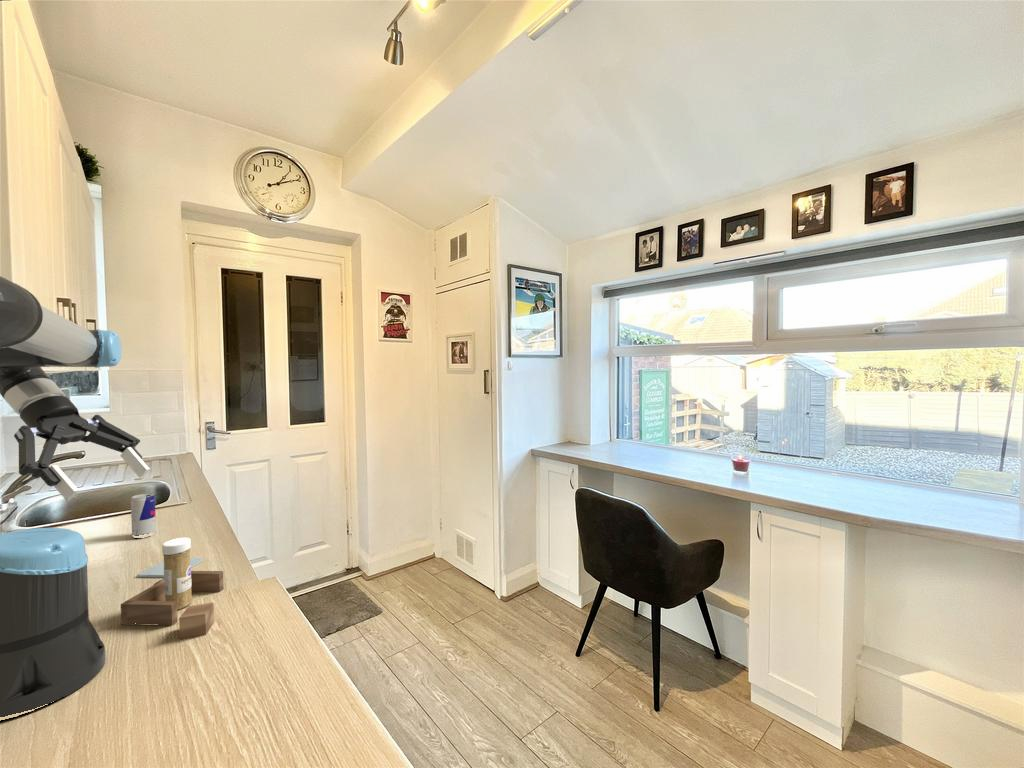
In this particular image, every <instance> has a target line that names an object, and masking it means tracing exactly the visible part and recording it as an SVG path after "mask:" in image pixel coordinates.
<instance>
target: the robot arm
mask: <svg viewBox="0 0 1024 768" xmlns="http://www.w3.org/2000/svg"><path fill="white" fill-rule="evenodd" d="M121 358H122V343H121V339H120V337H119V335H118V333H117V332H115V331H112V330H102V329H98V328H97V329H86V328H85V327H83V326H81V325H79V324H77V323H75V322H73V321H71V320H70V319H68V318H66V317H64V316H62V315H60V314H58V313H56V312H54V311H52V310H51V309H49V308H47V307H45V306H43V305H42V304H41V302H40V301H39V299H38V298H37V297H36V296H35V295H34V294H33V293H32V292H30V291H29V290H28V289H26V288H24V287H23V286H21V285H19V284H17V283H15V282H13V281H11V280H10V279H7V278H5V277H3V276H0V396H1V397H2V398H3V399H4V400H5V402H6V403H7V404H8V405H9V407H11V408H12V410H13V411H14V412H15V413H16V414H17V415H18V416H19V418H20V419H21V420H22V421H23V422H24V424H25V425H22V426H20V427H19V428H18V430H17V431H16V432H15V433H14V434H13V436H14V438H15V440H16V441H17V443H18V474H19V475H20V476H27V475H29V474H31V476H32V477H33V478H37V479H38V478H41V480H42V481H44V483H45V484H46V485H47V486H48V487H54V488H55V490H57V492H58V493H59V494H60V495H61V496H62V498H63V499H65V501H69V500H71V499H73V498H74V497H75V495H76V494H77V493H78V492H79V491H80V489H79V488H78V487H77V486H76V485H75V483H74V482H73V481H71V479H70V478H69V477H68V476H67V474H65V472H64V471H63V470H62V469H61V468H60V466H58V464H54V465H51V462H52V460H53V458H54V455H55V452H56V450H57V447H58V444H60V445H61V446H62V445H63V446H64V445H67V444H69V443H77V442H84V443H93V444H96V445H97V446H101V447H105V448H107V449H110V450H113V451H116V452H119V453H121V454H120V455H119V456H120V458H122V460H124V462H125V463H126V464H127V465H128V466H129V468H130V469H131V470H132V471H133V472H134V473H135V474H136V475H137V476H138V478H140V479H141V478H143V477H144V476H145V475H146V474H147V473H148V472H149V471H150V470H151V469H150V467H149V466H148V465H147V464H146V463H145V461H144V460H143V455H142V454H140V452H139V451H138V450H137V449H136V447H137V446H138V444H140V443H141V439H139V438H138V437H135V436H134V435H132V434H130V433H128V432H126V431H125V430H123V429H122V428H119V427H117V426H116V425H114V424H113V423H110V422H108V421H107V420H106V419H105V418H103V417H102V416H101V415H99V414H94V416H92V417H90V418H84V417H82V416H81V415H80V413H79V409H78V408H77V406H75V403H73V402H72V400H70V399H69V397H67V395H66V394H65V393H64V392H63V390H61V388H60V387H59V386H58V385H57V384H56V382H54V381H53V380H52V378H50V376H48V374H47V373H46V372H45V371H44V369H43V368H52V367H53V368H54V367H57V368H58V367H59V368H60V367H61V368H64V367H65V368H104V367H106V368H107V367H116V366H117V365H118V364H119V363H120V362H121ZM87 432H89V434H87ZM36 437H38V438H41V439H44V440H45V442H44V444H43V446H42V450H41V453H40V455H39V457H38V460H37V462H36V440H35V439H36ZM86 549H87V548H86V541H85V539H84V536H83V535H82V534H81V533H80V532H79V531H75V530H72V529H69V528H62V527H61V528H60V527H40V528H39V527H36V528H34V527H33V528H24V529H17V530H16V529H15V530H12V531H11V532H0V717H5V716H8V715H12V714H16V713H21V712H24V711H28V710H32V709H35V708H37V707H40V706H43V705H45V704H49V703H51V702H53V701H56V700H58V699H60V698H62V697H64V698H65V696H66V697H67V696H69V695H70V694H72V693H74V692H76V691H77V690H79V689H80V688H82V687H84V686H85V685H86V684H88V683H89V682H90V681H92V680H93V679H94V678H95V677H96V676H97V675H98V674H99V673H100V672H101V671H102V670H103V668H104V666H105V665H106V662H105V661H106V659H107V655H106V647H105V643H104V642H103V641H102V640H101V638H100V635H99V634H98V631H96V628H95V627H94V625H93V623H92V621H91V619H90V616H89V615H90V614H89V586H88V585H89V584H88V582H89V580H88V563H89V556H88V555H87V552H86V551H87V550H86ZM104 664H105V665H104ZM101 669H102V670H101ZM62 699H63V698H62ZM60 700H61V699H60ZM58 701H59V700H58ZM56 702H57V701H56Z"/></svg>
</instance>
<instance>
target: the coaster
mask: <svg viewBox="0 0 1024 768" xmlns="http://www.w3.org/2000/svg"><path fill="white" fill-rule="evenodd" d="M203 560H204V561H205V557H190V565H191V569H192V568H193V567H195V566H196V565H198V564H200V563H202V562H204V561H203ZM136 578H162V579H164V560H163V561H161V562H159V563H157V564H155V565H153V566H151V567H149V568H148V569H145V570H143V571H141V572H139V573H138V574H136Z"/></svg>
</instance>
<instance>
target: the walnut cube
mask: <svg viewBox="0 0 1024 768" xmlns="http://www.w3.org/2000/svg"><path fill="white" fill-rule="evenodd" d="M214 604H215V603H214V602H206V603H200V604H193V605H188V606H187V608H186V609H185V610H184V611H183V613H182V614H181V615H180V616H179V617H178V624H179V625H178V626H179V639H180V640H184V639H190V638H195V637H201V636H202V637H203V636H207V634H208V632H209V631H210V629H212V627H213V625H214V624H215V607H214Z"/></svg>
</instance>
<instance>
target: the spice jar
mask: <svg viewBox="0 0 1024 768" xmlns="http://www.w3.org/2000/svg"><path fill="white" fill-rule="evenodd" d="M191 543H192V542H191V538H189V537H177V538H173V539H170V540H167V541H165V542H164V543H162V546H161V547H162V548H161V550H162V552H161V553H162V556H163V561H164V578H163V579H164V592H165V601H177V611H179V610H182V609H185V608H186V607H187V608H188V606H190V605H191V604H192V603H193V598H192V592H191V586H192V582H191V571H192V568H191V565H190V558H191V552H190V551H191V547H192V544H191Z"/></svg>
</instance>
